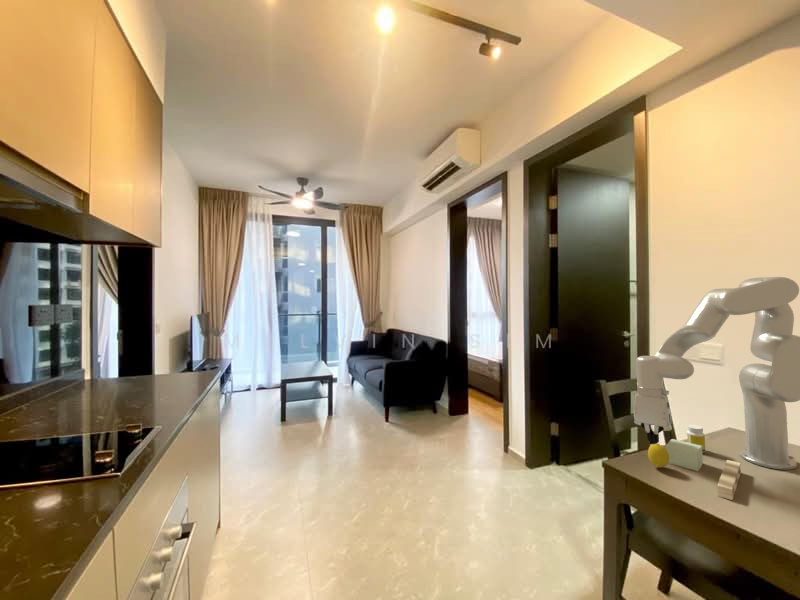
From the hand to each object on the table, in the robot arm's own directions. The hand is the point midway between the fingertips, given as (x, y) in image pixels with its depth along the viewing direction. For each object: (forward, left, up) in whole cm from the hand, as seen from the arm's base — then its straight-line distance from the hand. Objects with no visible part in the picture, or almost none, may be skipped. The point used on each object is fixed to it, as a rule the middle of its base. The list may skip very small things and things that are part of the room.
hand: (653, 443), depth 120 cm
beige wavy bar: (+7, +20, -4) cm, 21 cm away
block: (0, +8, -4) cm, 9 cm away
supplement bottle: (-13, +9, -4) cm, 17 cm away
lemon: (+9, +3, -4) cm, 11 cm away
